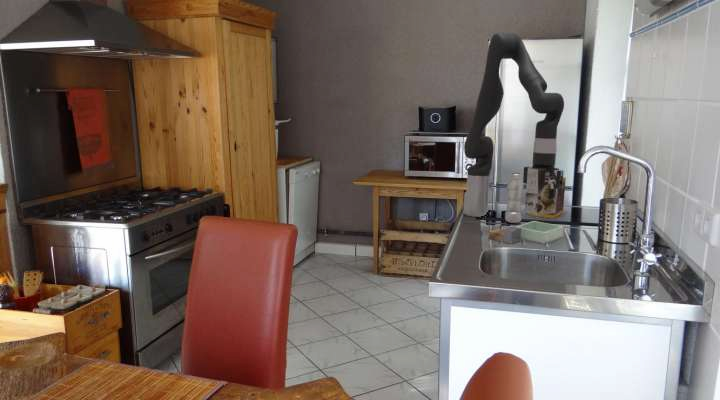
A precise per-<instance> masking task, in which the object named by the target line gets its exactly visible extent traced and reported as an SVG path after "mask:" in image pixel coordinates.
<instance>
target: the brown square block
mask: <svg viewBox="0 0 720 400" xmlns="http://www.w3.org/2000/svg"><path fill="white" fill-rule="evenodd" d="M504 230H505V229H501V228H496V229H492V230H489V231H488V240H491V241H497V242H500V243H504V242H503V241H504Z"/></svg>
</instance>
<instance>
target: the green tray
mask: <svg viewBox="0 0 720 400" xmlns="http://www.w3.org/2000/svg"><path fill="white" fill-rule="evenodd" d="M515 227H517V228H521V237H520V240H524V241H527V242H533V243H537V244H542V245H547V244H548V243H551V242H554V241H557V240H559V239H561V238H563V236H564V226H563V225H559V224H552V223H547V222H541V221H536V220H532V221H529V222H526V223H522V224H519V225H515Z"/></svg>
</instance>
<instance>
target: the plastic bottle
mask: <svg viewBox="0 0 720 400" xmlns="http://www.w3.org/2000/svg"><path fill="white" fill-rule="evenodd" d="M510 178H511V179H510V180H509V181H508V183H507V186H506V191H507V205H506V210H505V214H504V219H505V221H506V222H507V223H510V224H520V223H521V221H522V218H523V216H522V215H523V214H522V199H523V198H522V197H523V193H524V183H523V181H522V179H521V178H522V173H521V172H511V175H510Z"/></svg>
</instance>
